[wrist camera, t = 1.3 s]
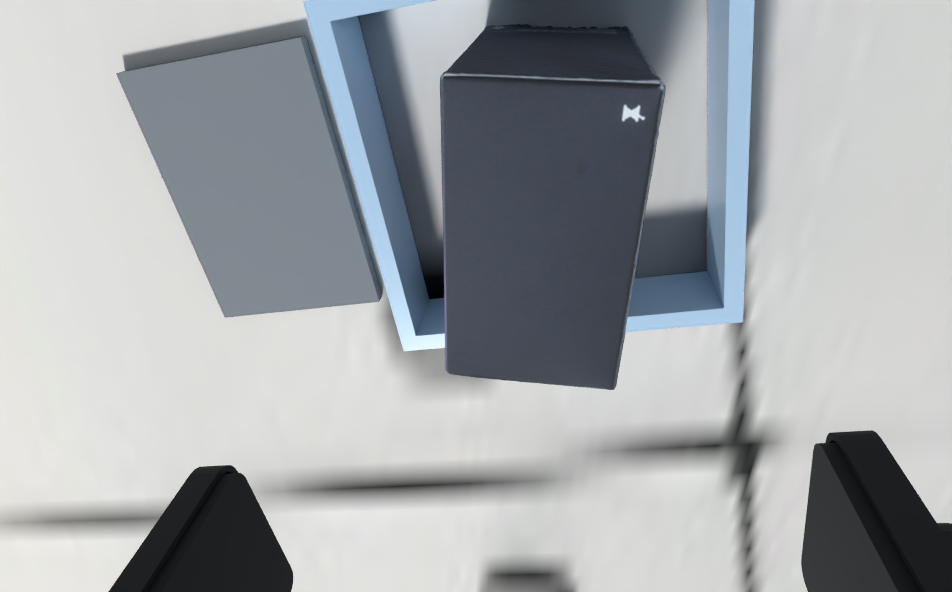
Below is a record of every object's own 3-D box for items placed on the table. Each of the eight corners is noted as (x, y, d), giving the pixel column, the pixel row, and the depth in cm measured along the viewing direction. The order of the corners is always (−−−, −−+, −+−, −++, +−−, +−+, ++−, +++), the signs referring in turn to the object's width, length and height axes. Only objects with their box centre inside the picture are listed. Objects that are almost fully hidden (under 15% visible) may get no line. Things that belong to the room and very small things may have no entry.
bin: (730, -88, 22) (757, -93, 19) (723, 283, 30) (742, 322, 27) (333, -5, 25) (302, 1, 22) (417, 313, 32) (403, 351, 30)
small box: (474, 21, 25) (427, 63, 16) (634, 25, 24) (679, 72, 15) (472, 251, 30) (436, 380, 21) (604, 259, 30) (624, 396, 21)
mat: (305, 35, 26) (300, 37, 26) (381, 295, 32) (379, 301, 32) (124, 71, 28) (116, 73, 27) (229, 311, 34) (224, 317, 33)
